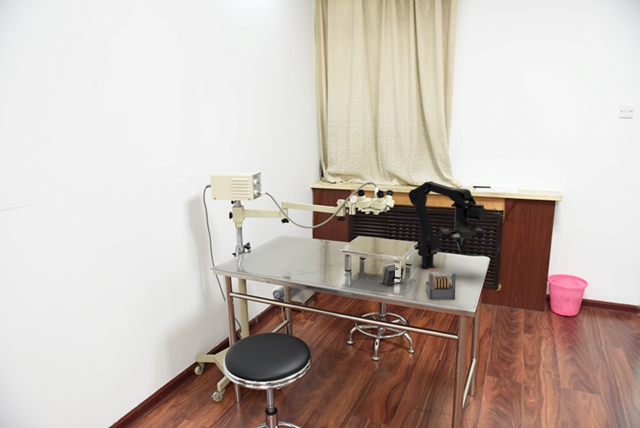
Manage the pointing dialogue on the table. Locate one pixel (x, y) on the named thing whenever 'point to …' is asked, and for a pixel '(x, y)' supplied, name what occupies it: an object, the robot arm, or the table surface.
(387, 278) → the electrical switch
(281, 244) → the table surface
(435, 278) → the heat-sink block
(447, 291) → the grey open frame
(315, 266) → the table surface
